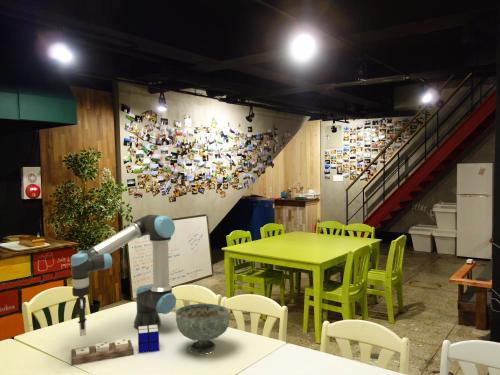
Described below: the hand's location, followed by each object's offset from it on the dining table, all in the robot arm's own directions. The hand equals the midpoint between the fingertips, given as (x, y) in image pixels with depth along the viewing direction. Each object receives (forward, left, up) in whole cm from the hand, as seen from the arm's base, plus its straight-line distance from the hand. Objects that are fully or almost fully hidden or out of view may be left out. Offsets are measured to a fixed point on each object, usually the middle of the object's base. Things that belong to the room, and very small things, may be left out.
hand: (82, 335), depth 205 cm
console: (-9, 0, -11) cm, 14 cm away
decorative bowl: (-56, +13, -12) cm, 58 cm away
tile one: (0, 0, -10) cm, 10 cm away
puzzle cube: (-31, +1, -12) cm, 33 cm away
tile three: (-9, 0, -9) cm, 12 cm away
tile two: (-18, 0, -9) cm, 20 cm away
